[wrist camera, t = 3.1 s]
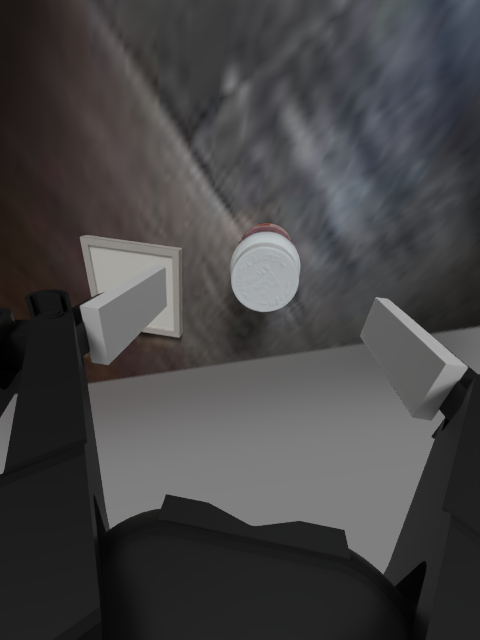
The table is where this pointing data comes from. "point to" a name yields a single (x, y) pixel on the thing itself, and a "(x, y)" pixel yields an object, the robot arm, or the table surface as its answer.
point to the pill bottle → (265, 268)
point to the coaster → (129, 260)
